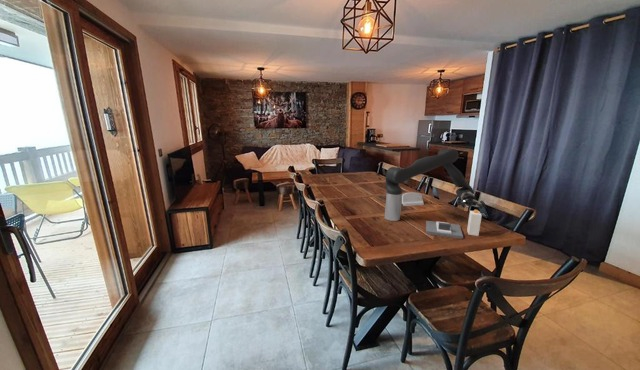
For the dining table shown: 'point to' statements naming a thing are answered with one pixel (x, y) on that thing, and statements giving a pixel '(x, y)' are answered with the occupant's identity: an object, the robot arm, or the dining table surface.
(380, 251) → the dining table surface
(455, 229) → the mounting plate
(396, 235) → the dining table surface
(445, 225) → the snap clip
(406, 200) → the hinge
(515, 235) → the dining table surface
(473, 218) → the module
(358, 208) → the dining table surface
